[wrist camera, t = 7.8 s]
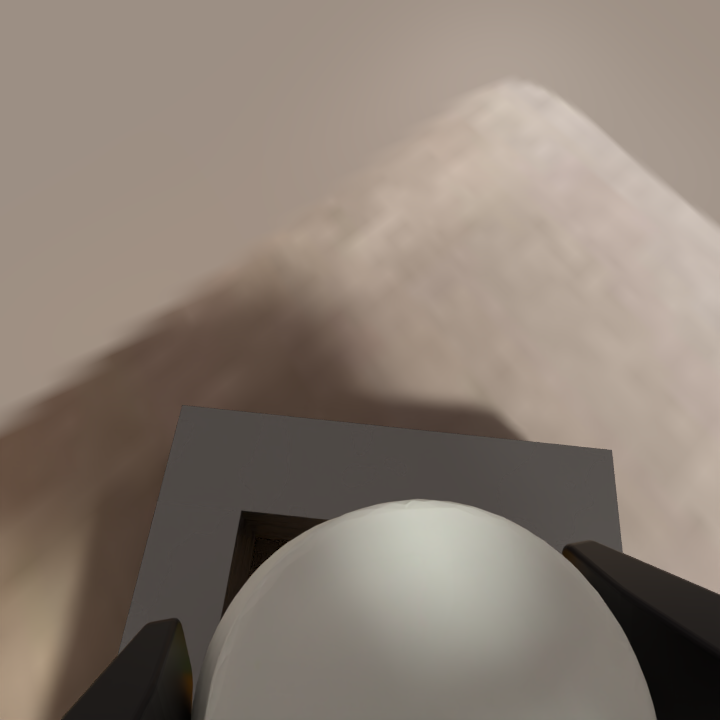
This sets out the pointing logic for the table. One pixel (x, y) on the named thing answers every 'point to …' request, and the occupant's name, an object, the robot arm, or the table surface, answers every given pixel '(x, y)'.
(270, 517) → the grey slotted block
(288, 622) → the supplement bottle
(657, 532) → the table surface
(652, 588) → the robot arm
